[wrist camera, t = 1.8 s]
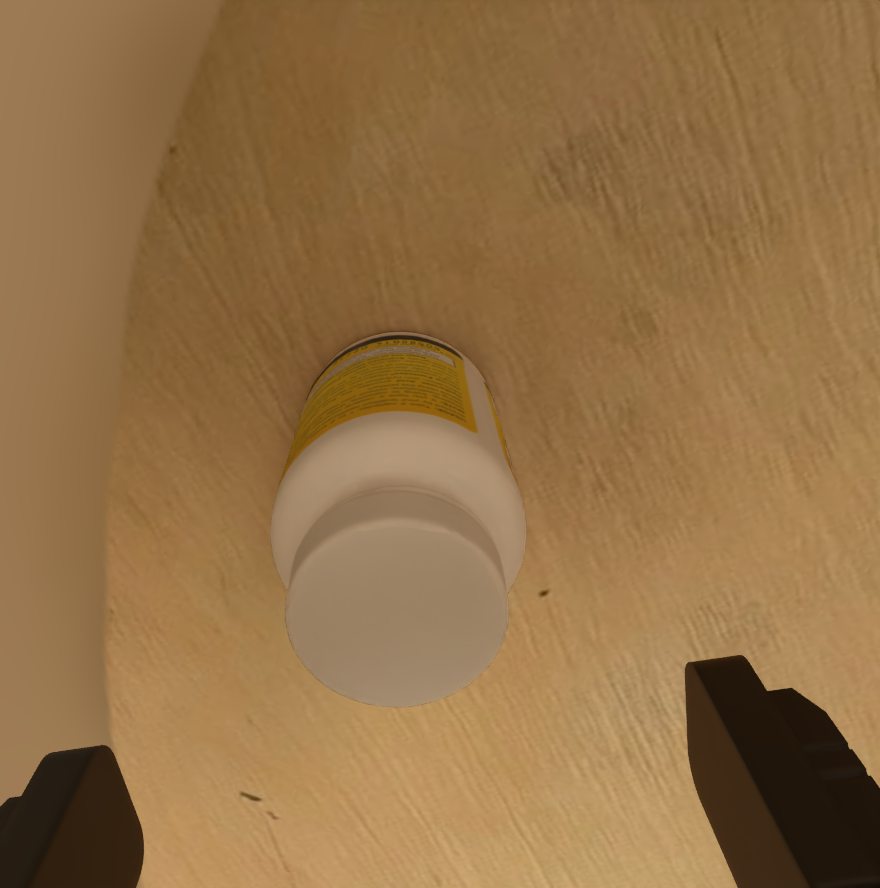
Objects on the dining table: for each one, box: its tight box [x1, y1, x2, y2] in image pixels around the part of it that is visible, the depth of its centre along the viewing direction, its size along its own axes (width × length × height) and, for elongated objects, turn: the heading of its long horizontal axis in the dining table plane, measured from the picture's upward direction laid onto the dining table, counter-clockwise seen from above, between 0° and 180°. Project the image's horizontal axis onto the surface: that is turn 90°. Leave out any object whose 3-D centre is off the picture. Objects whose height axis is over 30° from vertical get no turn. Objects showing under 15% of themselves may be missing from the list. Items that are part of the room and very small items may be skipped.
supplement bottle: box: [271, 332, 527, 708], centre depth 19 cm, size 5×5×10 cm
